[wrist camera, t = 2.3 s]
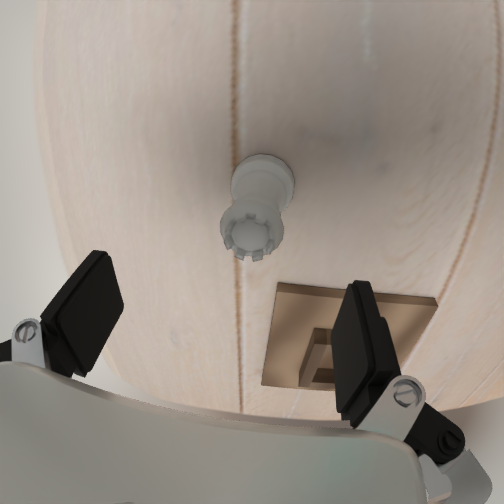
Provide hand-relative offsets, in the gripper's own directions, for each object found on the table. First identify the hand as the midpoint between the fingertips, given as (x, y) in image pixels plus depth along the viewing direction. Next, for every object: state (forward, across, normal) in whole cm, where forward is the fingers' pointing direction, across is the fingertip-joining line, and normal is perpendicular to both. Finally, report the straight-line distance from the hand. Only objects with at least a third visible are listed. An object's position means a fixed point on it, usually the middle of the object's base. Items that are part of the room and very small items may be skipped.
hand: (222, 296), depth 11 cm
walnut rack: (+12, -11, +17) cm, 23 cm away
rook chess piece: (+12, -1, 0) cm, 12 cm away
